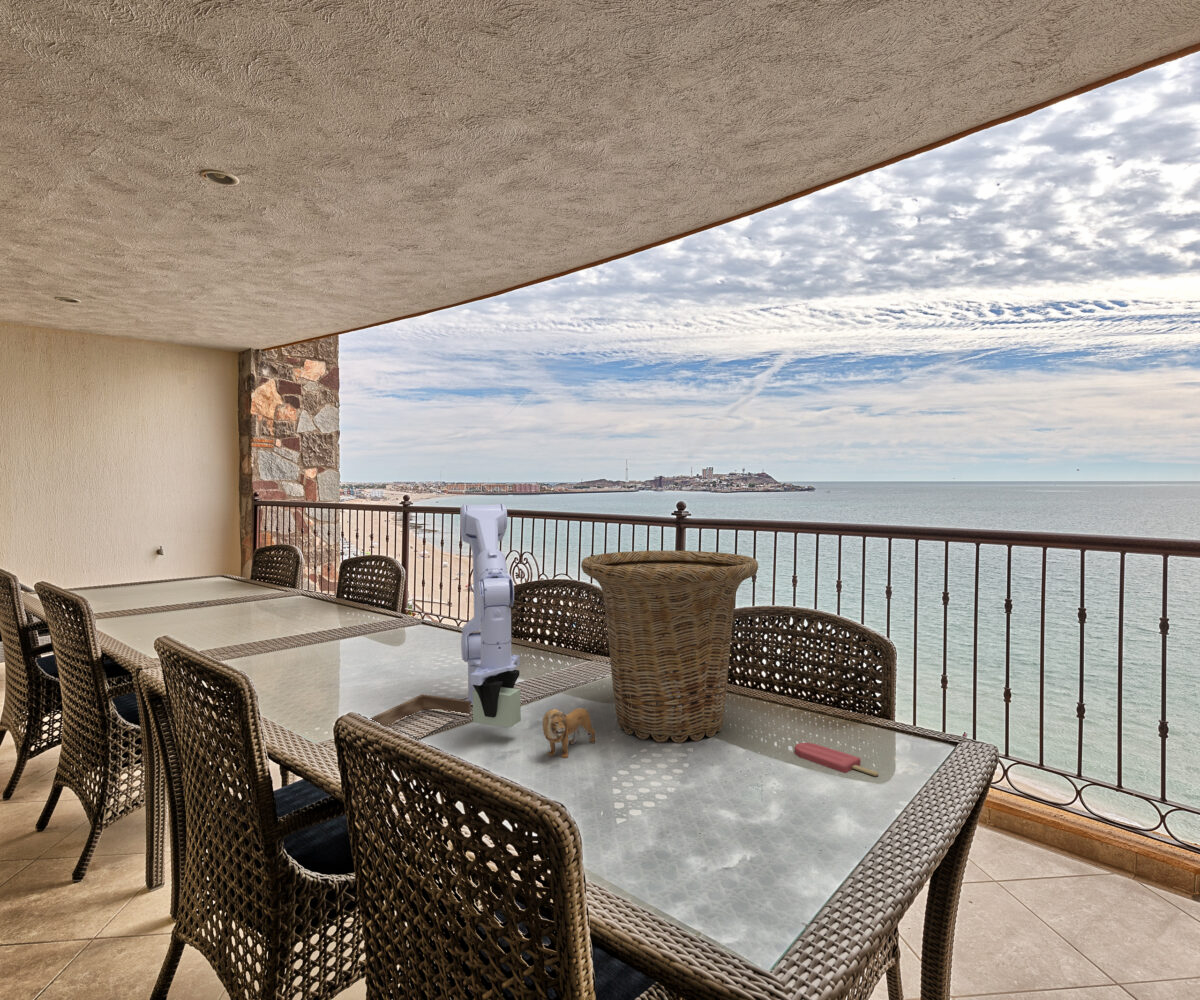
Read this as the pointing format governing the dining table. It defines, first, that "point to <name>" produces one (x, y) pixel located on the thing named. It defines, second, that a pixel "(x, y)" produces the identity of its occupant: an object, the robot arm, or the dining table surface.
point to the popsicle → (830, 758)
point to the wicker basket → (669, 637)
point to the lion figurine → (566, 728)
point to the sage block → (500, 709)
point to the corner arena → (421, 708)
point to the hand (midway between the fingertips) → (496, 712)
